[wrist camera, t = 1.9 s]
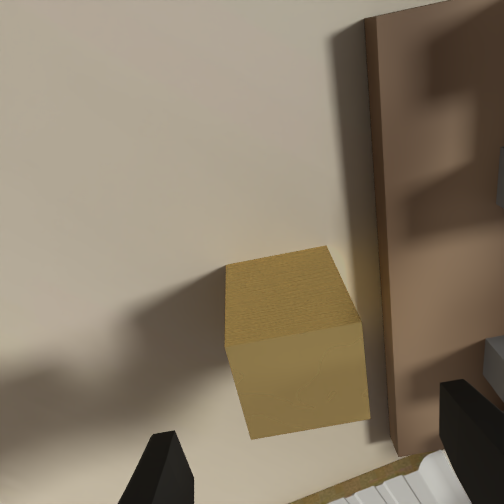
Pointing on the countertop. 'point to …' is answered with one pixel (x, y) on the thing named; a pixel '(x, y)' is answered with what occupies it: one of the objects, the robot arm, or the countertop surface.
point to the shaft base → (438, 205)
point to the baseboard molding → (399, 484)
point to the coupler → (294, 344)
